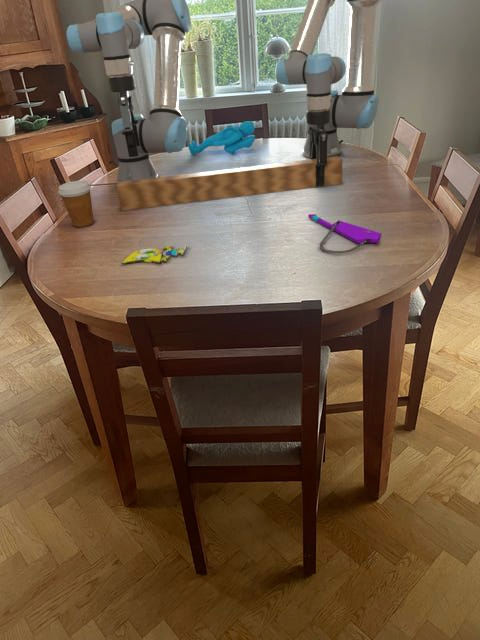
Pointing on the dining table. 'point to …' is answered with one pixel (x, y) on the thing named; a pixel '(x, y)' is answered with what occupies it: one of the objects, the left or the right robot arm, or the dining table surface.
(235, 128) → the toy
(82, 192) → the disposable coffee cup
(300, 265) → the dining table surface
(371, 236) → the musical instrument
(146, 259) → the toy
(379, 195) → the dining table surface
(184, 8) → the left robot arm
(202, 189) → the beam
